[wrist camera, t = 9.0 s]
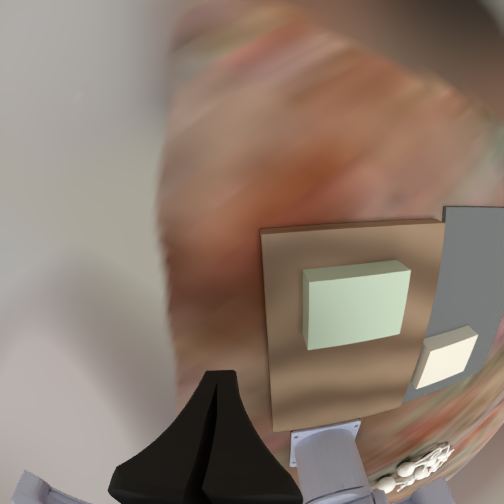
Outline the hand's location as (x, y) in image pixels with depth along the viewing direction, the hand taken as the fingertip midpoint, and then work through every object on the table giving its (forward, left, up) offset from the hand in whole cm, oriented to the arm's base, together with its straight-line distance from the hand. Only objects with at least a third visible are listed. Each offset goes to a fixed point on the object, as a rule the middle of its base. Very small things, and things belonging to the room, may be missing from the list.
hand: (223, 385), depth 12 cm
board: (-5, -10, -8) cm, 14 cm away
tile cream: (-9, -21, -8) cm, 24 cm away
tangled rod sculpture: (-42, -31, -9) cm, 53 cm away
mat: (-5, -25, -8) cm, 26 cm away
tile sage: (0, -9, -7) cm, 11 cm away
